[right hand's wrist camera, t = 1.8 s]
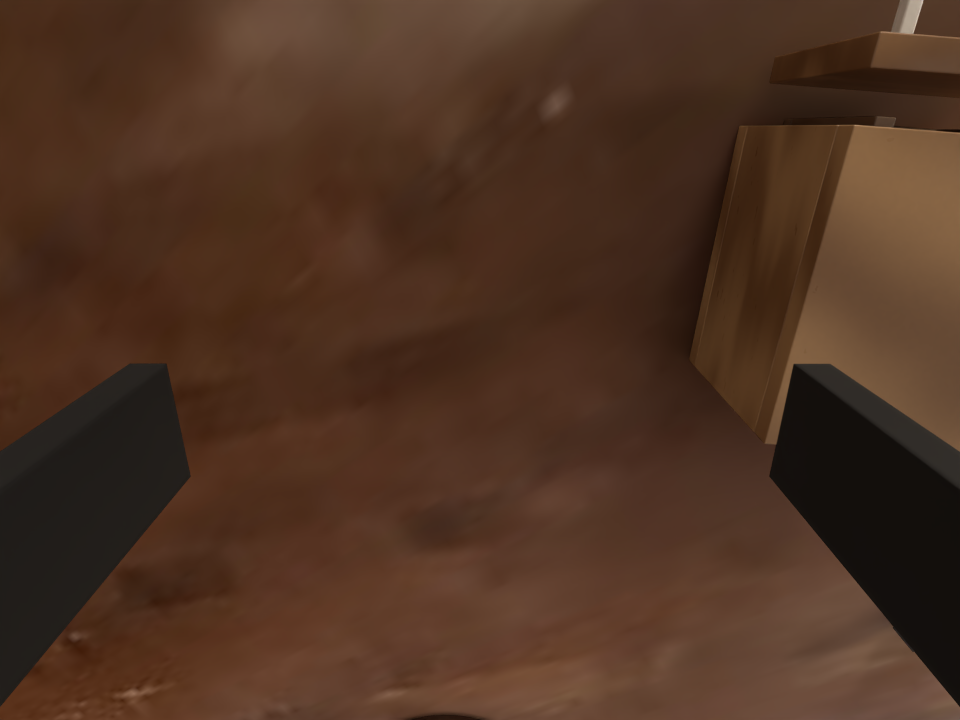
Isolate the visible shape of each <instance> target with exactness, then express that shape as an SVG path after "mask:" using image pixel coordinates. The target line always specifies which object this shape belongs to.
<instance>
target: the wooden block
mask: <svg viewBox="0 0 960 720" xmlns="http://www.w3.org/2000/svg"><path fill="white" fill-rule="evenodd" d="M689 361H690V362H691V363H692V364H693V365H694V366H695V367H696V369H697V370H698V371H699V372H700V373H701V374H702V375H703V376H704V377H705V379H706V380H707V381H708V382H709V383H710V384H711V385H712V386H713V387H714V389H715V390H716V391H717V392H718V393H719V394H720V395H721V396H722V397H723V398H724V400H725V401H726V402H727V403H728V404H729V405H730V406H731V407H732V408H733V410H734V411H735V412H736V413H737V414H738V415H739V416H740V417H741V418H742V420H743V421H744V422H745V423H746V424H747V425H748V426H749V427H750V428H751V430H752V431H753V432H755V434H756V435H757V436H758V437H759V438H760V439H761V441H762V442H763V443H764V444H775V445H776V443H777V439H778V434H779V429H780V425H781V420H782V415H783V411H784V406H785V401H786V397H787V392H788V387H789V383H790V378H791V373H792V369H793V364H831V365H833V366H834V367H836V368H837V369H839V370H840V371H842V372H843V373H845V374H846V375H848V376H849V377H851V378H852V379H853V380H855V381H856V382H858V383H859V384H861V385H862V386H864V387H865V388H867V389H868V390H870V391H871V392H873V393H874V394H876V395H877V396H879V397H880V398H881V399H883V400H884V401H886V402H887V403H889V404H890V405H892V406H893V407H895V408H896V409H898V410H899V411H901V412H902V413H904V414H905V415H907V416H908V417H909V418H911V419H912V420H914V421H915V422H917V423H918V424H920V425H921V426H923V427H924V428H926V429H927V430H929V431H930V432H932V433H933V434H935V435H936V436H938V437H939V438H940V439H942V440H943V441H945V442H946V443H948V444H949V445H951V446H952V447H954V448H955V449H957V450H958V451H960V133H956V132H943V131H930V130H917V129H903V128H890V127H877V126H863V125H775V126H739V130H738V134H737V139H736V144H735V148H734V153H733V158H732V162H731V167H730V172H729V176H728V181H727V185H726V190H725V195H724V199H723V204H722V209H721V213H720V218H719V223H718V227H717V232H716V236H715V241H714V246H713V250H712V255H711V260H710V264H709V269H708V274H707V278H706V283H705V287H704V292H703V297H702V301H701V306H700V311H699V315H698V320H697V325H696V329H695V334H694V339H693V343H692V348H691V352H690V357H689Z"/></svg>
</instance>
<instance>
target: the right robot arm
mask: <svg viewBox="0 0 960 720" xmlns="http://www.w3.org/2000/svg"><path fill="white" fill-rule="evenodd" d="M189 478H190V471H189V467H188V462H187V457H186V453H185V448H184V443H183V439H182V434H181V429H180V425H179V420H178V415H177V411H176V406H175V401H174V397H173V392H172V387H171V383H170V378H169V373H168V369H167V364H129V365H127V366H126V367H124V368H123V369H121V370H120V371H118V372H117V373H115V374H114V375H112V376H111V377H109V378H108V379H107V380H105V381H104V382H102V383H101V384H99V385H98V386H96V387H95V388H93V389H92V390H90V391H89V392H87V393H86V394H84V395H83V396H81V397H80V398H79V399H77V400H76V401H74V402H73V403H71V404H70V405H68V406H67V407H65V408H64V409H62V410H61V411H59V412H58V413H56V414H55V415H53V416H52V417H51V418H49V419H48V420H46V421H45V422H43V423H42V424H40V425H39V426H37V427H36V428H34V429H33V430H31V431H30V432H28V433H27V434H25V435H24V436H22V437H21V438H20V439H18V440H17V441H15V442H14V443H12V444H11V445H9V446H8V447H6V448H5V449H3V450H2V451H0V706H1V705H2V704H3V703H4V701H5V700H6V699H7V698H8V697H9V695H10V694H11V693H12V692H13V691H14V689H15V688H16V687H17V686H18V685H19V683H20V682H21V681H22V680H23V678H24V677H25V676H26V675H27V674H28V672H29V671H30V670H31V669H32V668H33V666H34V665H35V664H36V663H37V662H38V660H39V659H40V658H41V657H42V655H43V654H44V653H45V652H46V651H47V649H48V648H49V647H50V646H51V645H52V643H53V642H54V641H55V640H56V639H57V637H58V636H59V635H60V634H61V633H62V631H63V630H64V629H65V628H66V626H67V625H68V624H69V623H70V622H71V620H72V619H73V618H74V617H75V616H76V614H77V613H78V612H79V611H80V610H81V608H82V607H83V606H84V605H85V603H86V602H87V601H88V600H89V599H90V597H91V596H92V595H93V594H94V593H95V591H96V590H97V589H98V588H99V587H100V585H101V584H102V583H103V582H104V580H105V579H106V578H107V577H108V576H109V574H110V573H111V572H112V571H113V570H114V568H115V567H116V566H117V565H118V564H119V562H120V561H121V560H122V559H123V557H124V556H125V555H126V554H127V553H128V551H129V550H130V549H131V548H132V547H133V545H134V544H135V543H136V542H137V541H138V539H139V538H140V537H141V536H142V535H143V533H144V532H145V531H146V530H147V528H148V527H149V526H150V525H151V524H152V522H153V521H154V520H155V519H156V518H157V516H158V515H159V514H160V513H161V512H162V510H163V509H164V508H165V507H166V505H167V504H168V503H169V502H170V501H171V499H172V498H173V497H174V496H175V495H176V493H177V492H178V491H179V490H180V489H181V487H182V486H183V485H184V484H185V482H186V481H187V480H188V479H189ZM770 478H771V479H772V480H773V481H774V482H775V484H776V485H777V486H778V487H779V489H780V490H781V491H782V492H783V493H784V495H785V496H786V497H787V498H788V499H789V501H790V502H791V503H792V504H793V505H794V507H795V508H796V509H797V510H798V512H799V513H800V514H801V515H802V516H803V518H804V519H805V520H806V521H807V522H808V524H809V525H810V526H811V527H812V528H813V530H814V531H815V532H816V533H817V535H818V536H819V537H820V538H821V539H822V541H823V542H824V543H825V544H826V545H827V547H828V548H829V549H830V550H831V551H832V553H833V554H834V555H835V556H836V558H837V559H838V560H839V561H840V562H841V564H842V565H843V566H844V567H845V568H846V570H847V571H848V572H849V573H850V574H851V576H852V577H853V578H854V579H855V580H856V582H857V583H858V584H859V585H860V587H861V588H862V589H863V590H864V591H865V593H866V594H867V595H868V596H869V597H870V599H871V600H872V601H873V602H874V603H875V605H876V606H877V607H878V608H879V610H880V611H881V612H882V613H883V614H884V616H885V617H886V618H887V619H888V620H889V622H890V623H891V624H892V625H893V626H894V628H895V629H896V630H897V631H898V633H899V634H900V635H901V636H902V637H903V639H904V640H905V641H906V642H907V643H908V645H909V646H910V647H911V648H912V649H913V651H914V652H915V653H916V654H917V655H918V657H919V658H920V659H921V660H922V662H923V663H924V664H925V665H926V666H927V668H928V669H929V670H930V671H931V672H932V674H933V675H934V676H935V677H936V678H937V680H938V681H939V682H940V683H941V685H942V686H943V687H944V688H945V689H946V691H947V692H948V693H949V694H950V695H951V697H952V698H953V699H954V700H955V701H956V703H957V704H958V705H959V706H960V451H958V450H957V449H955V448H954V447H952V446H951V445H949V444H948V443H946V442H945V441H943V440H942V439H940V438H939V437H938V436H936V435H935V434H933V433H932V432H930V431H929V430H927V429H926V428H924V427H923V426H921V425H920V424H918V423H917V422H915V421H914V420H912V419H911V418H909V417H908V416H907V415H905V414H904V413H902V412H901V411H899V410H898V409H896V408H895V407H893V406H892V405H890V404H889V403H887V402H886V401H884V400H883V399H881V398H880V397H879V396H877V395H876V394H874V393H873V392H871V391H870V390H868V389H867V388H865V387H864V386H862V385H861V384H859V383H858V382H856V381H855V380H853V379H852V378H851V377H849V376H848V375H846V374H845V373H843V372H842V371H840V370H839V369H837V368H836V367H834V366H833V365H831V364H793V369H792V373H791V378H790V383H789V387H788V392H787V397H786V401H785V406H784V411H783V415H782V420H781V425H780V429H779V434H778V439H777V443H776V448H775V453H774V457H773V462H772V467H771V471H770ZM412 720H479V719H475V718H470V717H464V716H454V715H437V716H427V717H421V718H416V719H412Z"/></svg>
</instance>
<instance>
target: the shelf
mask: <svg viewBox="0 0 960 720" xmlns="http://www.w3.org/2000/svg"><path fill="white" fill-rule="evenodd" d="M922 3H923V0H900V3H899V6H898V10H897V13H896V16H895V20H894V23H893V27H892V30H891V32H883V31H881V32H877V33H873V34H868V35H864V36H860V37H856V38H852V39H848V40H843V41H839V42H835V43H831V44H827V45H823V46H818V47H814V48H810V49H806V50H802V51H798V52H793V53H789V54H785V55H781V56H777V57H775V60H774V65H773V69H772V73H771V78H770V83H771V84H784V85H797V86H810V87H823V88H836V89H849V90H862V91H875V92H888V93H901V94H914V95H927V96H940V97H953V98H960V38H958V37H945V36H933V35H920V34H913V33H914V29H915V26H916V23H917V19H918V16H919V13H920V10H921V6H922ZM895 120H896V118H895V117H883V116H863V117H829V118H795V119H785V120H784V123H783V125H863V126H877V127H890V128H903V129H917V130H930V131H943V132H956V133H960V130H956V129H938V130H936V129H923V128H910V127H897V126H894V124H895Z"/></svg>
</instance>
